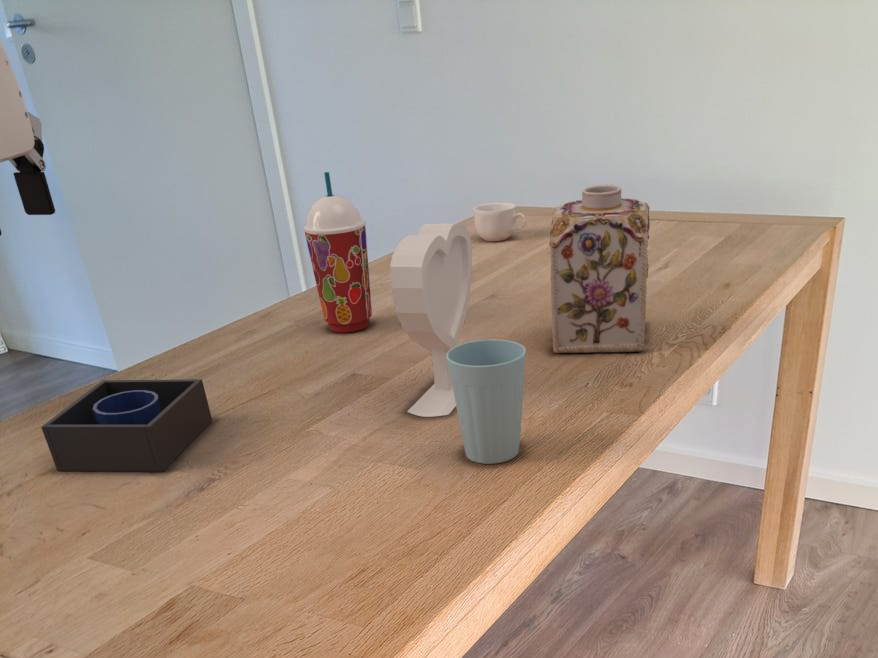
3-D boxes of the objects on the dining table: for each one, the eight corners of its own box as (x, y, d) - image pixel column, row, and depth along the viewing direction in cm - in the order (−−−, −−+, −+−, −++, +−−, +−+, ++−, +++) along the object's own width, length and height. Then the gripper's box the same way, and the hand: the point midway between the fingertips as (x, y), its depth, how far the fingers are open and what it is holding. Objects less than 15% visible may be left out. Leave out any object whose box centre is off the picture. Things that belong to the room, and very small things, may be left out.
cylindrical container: (94, 453, 99) (81, 414, 96) (123, 428, 104) (111, 390, 102) (152, 454, 98) (140, 414, 95) (179, 428, 103) (168, 389, 101)
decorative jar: (646, 323, 124) (651, 176, 113) (645, 353, 114) (651, 195, 104) (557, 325, 125) (554, 181, 115) (549, 354, 116) (546, 200, 106)
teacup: (467, 242, 168) (465, 210, 165) (486, 232, 173) (484, 201, 170) (517, 245, 164) (516, 212, 161) (534, 234, 169) (533, 203, 166)
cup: (536, 438, 96) (532, 338, 90) (522, 470, 90) (517, 366, 84) (465, 436, 97) (457, 338, 91) (447, 468, 92) (437, 365, 85)
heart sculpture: (442, 421, 101) (425, 249, 90) (400, 418, 103) (379, 248, 92) (485, 371, 113) (475, 214, 102) (447, 369, 114) (433, 214, 104)
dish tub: (57, 470, 97) (40, 426, 94) (115, 421, 108) (102, 380, 105) (163, 471, 95) (150, 426, 92) (212, 421, 106) (202, 379, 103)
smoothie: (387, 318, 133) (368, 166, 122) (363, 337, 127) (341, 178, 115) (336, 316, 136) (313, 167, 124) (310, 334, 130) (282, 179, 118)
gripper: (-30, 18, 90) (28, 206, 100) (-155, 29, 76) (-73, 246, 87) (40, 15, 89) (91, 206, 99) (-75, 26, 75) (-2, 246, 85)
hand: (14, 225), depth 93 cm, fingers open, 9 cm apart
